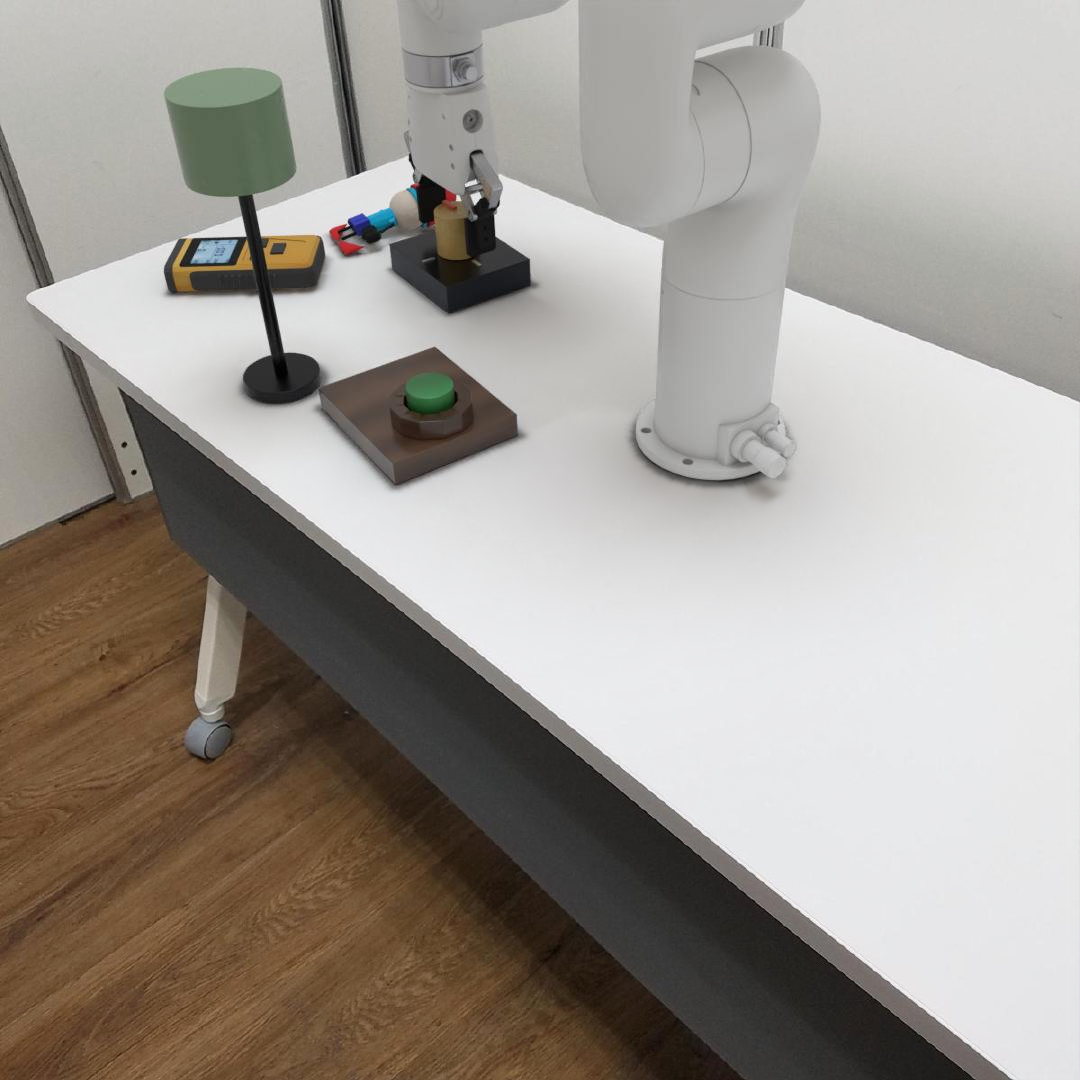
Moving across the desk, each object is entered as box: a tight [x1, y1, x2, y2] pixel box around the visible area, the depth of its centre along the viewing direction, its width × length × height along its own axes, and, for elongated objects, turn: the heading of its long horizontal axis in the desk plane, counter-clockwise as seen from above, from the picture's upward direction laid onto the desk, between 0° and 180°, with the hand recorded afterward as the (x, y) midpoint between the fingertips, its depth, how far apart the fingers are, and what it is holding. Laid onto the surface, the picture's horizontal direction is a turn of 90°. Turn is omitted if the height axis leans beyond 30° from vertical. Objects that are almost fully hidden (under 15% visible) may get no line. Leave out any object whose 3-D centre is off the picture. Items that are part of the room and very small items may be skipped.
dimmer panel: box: [388, 229, 532, 314], centre depth 119 cm, size 12×10×3 cm
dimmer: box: [434, 200, 476, 260], centre depth 117 cm, size 4×4×5 cm
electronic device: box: [163, 234, 326, 293], centre depth 121 cm, size 8×16×3 cm, turn 90°
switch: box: [405, 373, 455, 414], centre depth 95 cm, size 4×4×2 cm
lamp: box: [163, 67, 322, 405], centre depth 97 cm, size 9×9×27 cm
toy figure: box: [328, 183, 458, 256], centre depth 128 cm, size 8×5×15 cm
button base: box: [317, 346, 519, 485], centre depth 99 cm, size 14×12×4 cm
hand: (456, 235), depth 117 cm, fingers open, 9 cm apart
